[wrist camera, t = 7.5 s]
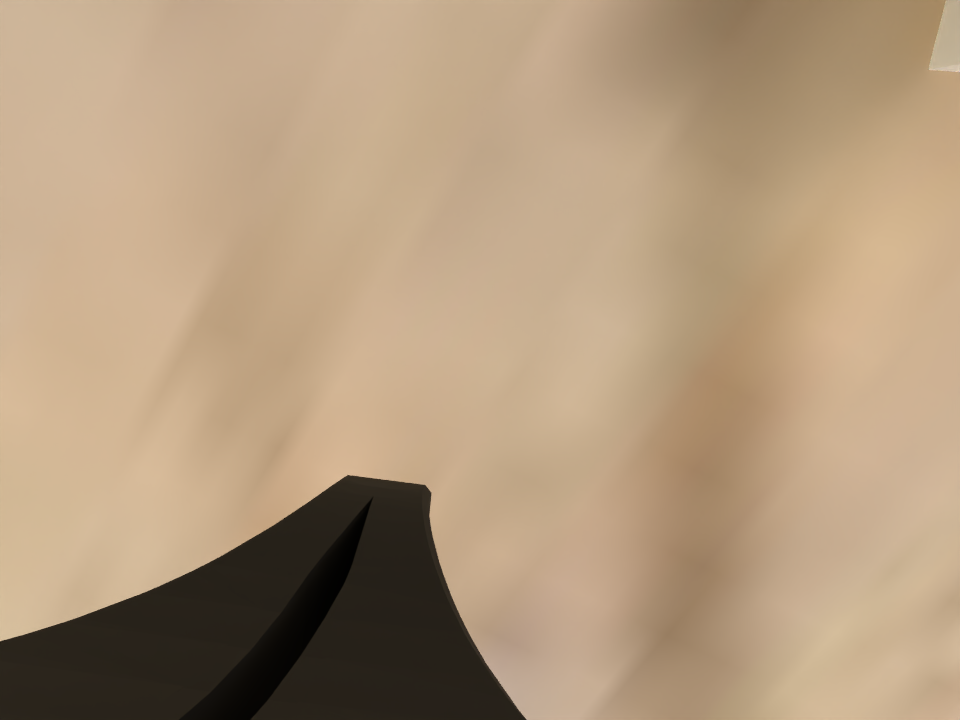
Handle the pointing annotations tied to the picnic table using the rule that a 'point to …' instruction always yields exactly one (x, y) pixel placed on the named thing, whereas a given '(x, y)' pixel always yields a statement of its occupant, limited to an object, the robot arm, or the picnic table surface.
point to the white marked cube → (947, 40)
